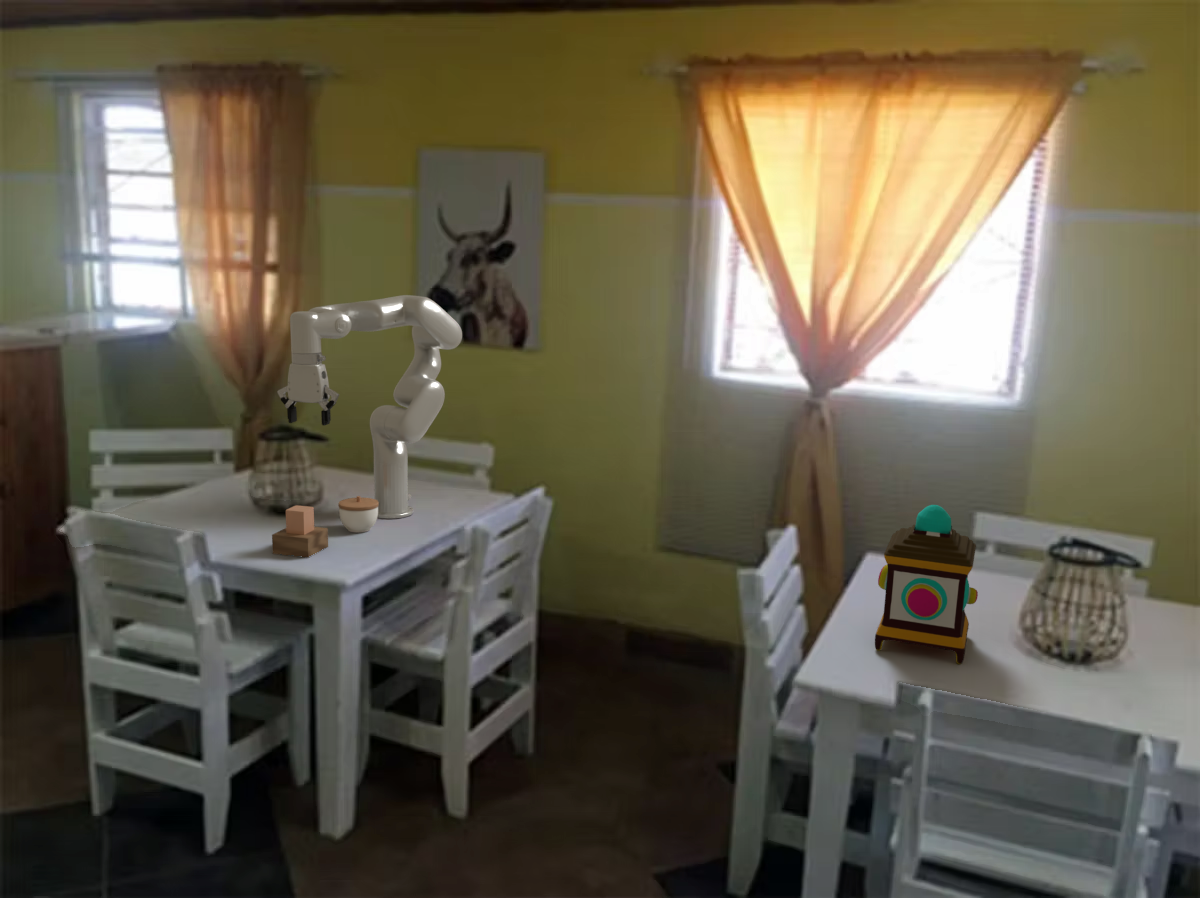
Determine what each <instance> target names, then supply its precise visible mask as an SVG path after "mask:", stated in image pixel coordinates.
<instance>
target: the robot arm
mask: <svg viewBox="0 0 1200 898" xmlns="http://www.w3.org/2000/svg"><path fill="white" fill-rule="evenodd" d="M289 316H290V317H289V324H290V325H289V326H290V348H291V363H290V364H289V368H288V373H287V374H288V375H287V385H286V386H284V387H282V388H280V389H278V390H277V391H276V392H277V395H278V396H279V398H280V401H281V402H282V403H283V405H284V407H285V408H286V410H287V411H286V412H287V420H288V424H292V423H296V422H297V421H298V416H297V406H296V404H297V403H308V404H309V403H311V404H318V405H319V406H320V407H321V409H322V410H321V415H320V416H321V417H320V418H321V425H322V426H326V425H330V423H331V420H332V417H331V415H332V414H331V410H332V408H333V407H334V406H335V405H336V404H337V401H338V399H339V397H340V393H338V392H336V391H335V390H333V389H331V388H330V383H329V377H328V372H327V368H326V364H325V363H323V362H325V361H326V356H325V355H323V353H322V339H333V340H336V339H337V340H338V339H342V338H345V337H346V336H347V335H348V334H349V333H350V332H352V331H353V332H356V331H357V332H377V331H383V330H384V331H385V330H389V329H394V328H400V327H406V326H410V327H411V326H412V327H411V337H412V340H413V346H414V355H413V358H412V360H411V362H410V364H409V366H408V367H407V368H406V370H405V372H404V373H403V375H402V376H401V378H400V379H399V381H398V382H397V384H396V386H395V388H394V390H393V400H394V401H395V402H396V403H397V405H399V406H397V405H392V404H391V405H390V404H384V405H380V406H378V407H376V408H375V409H374V410H373V411H372V413H371V415H370V418H369V429H370V430H369V431H370V432H371V433H370V434H371V438H372V445H373V488H374V489H373V493H374V494H373V496H374V497H373V499H375V500H377V501H378V502H379V506H378V517H377V519H391V520H392V519H400V518H407V517H409V516H411V515H413V514H414V508H413V507H412V506H410V505H409V501H410V500H411V499H412V497H413V496H412V494H411V493H409V492H408V491H409V490H408V489H409V488H408V486H409V485H408V482H409V481H408V480H409V479H408V477H409V476H408V471H409V470H408V465H409V463H408V459H409V458H408V449H407V445H406V444H414V443H417V442H419V441H420V440H421V439H422V438H423V437H424V436H425V435H426V433H427V431H428V430H429V428H430V426H431V425H432V424H433V422H434V420H435V419H436V418H437V416H438V414H439V412H440V411H441V409H442V407H443V405H444V402H445V399H446V398H445V396H446V394H445V393H446V392H445V388H444V387H443V385H442V383H441V382H439V381H438V380H436V379H437V378H438V375H439V373H440V372H441V368H442V358H441V353H440V349H441V350H454V349H456V348H457V347H458V346H459V345H460V344H461V342H462V340H463V331H462V328H461V326H460V325H459V323H458V322H457V320H455V319H454V318H453V317H452V316H451V315H450V314H449V313H448V312H446V310H445V309H443V308H442V307H441V306H440V305H439V304H438V303H436V302H435V301H434V300H432V299H431V298H429V297H427V296H421V295H412V294H411V295H410V294H403V295H397V296H391V297H386V298H379V299H372V300H364V301H363V300H362V301H353V302H346V303H345V302H344V303H335V304H327V305H322V306H316V307H312V308H310V309H309V310H307V311H302V310H300V311H294V312H292V313H291V315H289ZM286 393H287V395H286Z"/></svg>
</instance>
